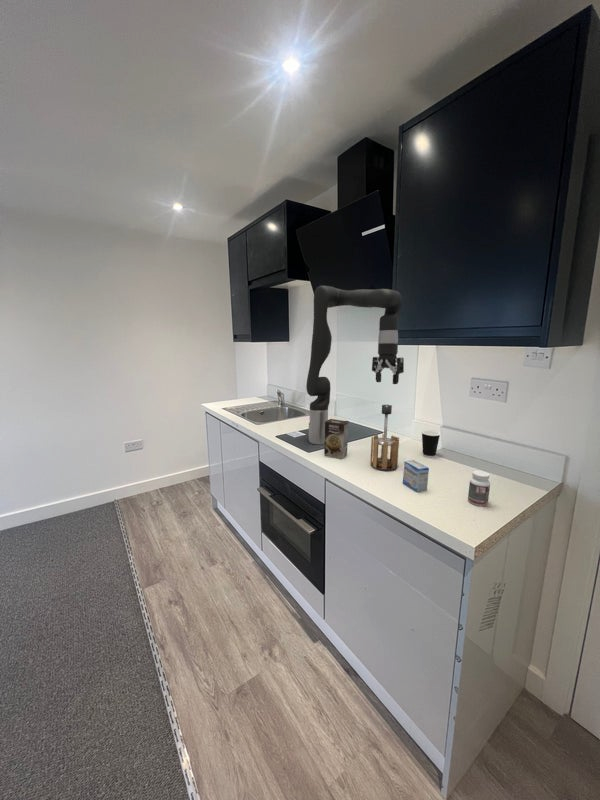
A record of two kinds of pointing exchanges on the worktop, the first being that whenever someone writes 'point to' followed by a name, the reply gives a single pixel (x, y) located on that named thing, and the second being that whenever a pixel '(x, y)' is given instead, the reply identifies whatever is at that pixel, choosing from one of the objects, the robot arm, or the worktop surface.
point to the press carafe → (384, 455)
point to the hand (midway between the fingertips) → (386, 383)
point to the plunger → (386, 410)
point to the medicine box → (415, 475)
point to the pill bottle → (479, 488)
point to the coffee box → (336, 438)
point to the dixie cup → (430, 442)
